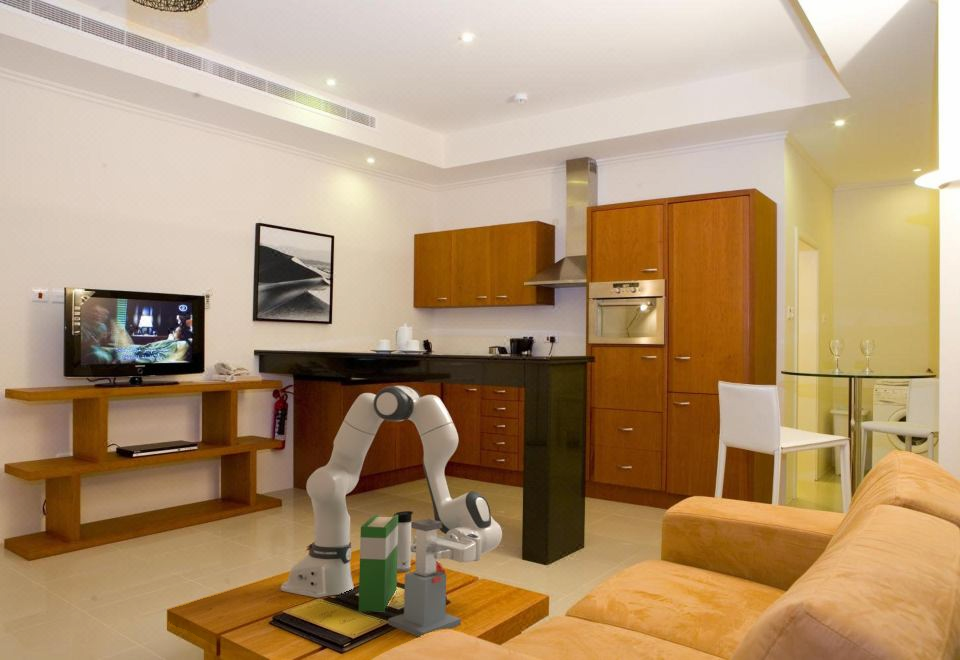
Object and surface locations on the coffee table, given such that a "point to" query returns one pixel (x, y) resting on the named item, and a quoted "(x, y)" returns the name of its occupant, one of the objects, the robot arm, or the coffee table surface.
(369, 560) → the hardback book
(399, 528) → the travel mug
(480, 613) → the coffee table surface
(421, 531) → the steel column
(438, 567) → the dragon fruit
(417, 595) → the stand sleeve
